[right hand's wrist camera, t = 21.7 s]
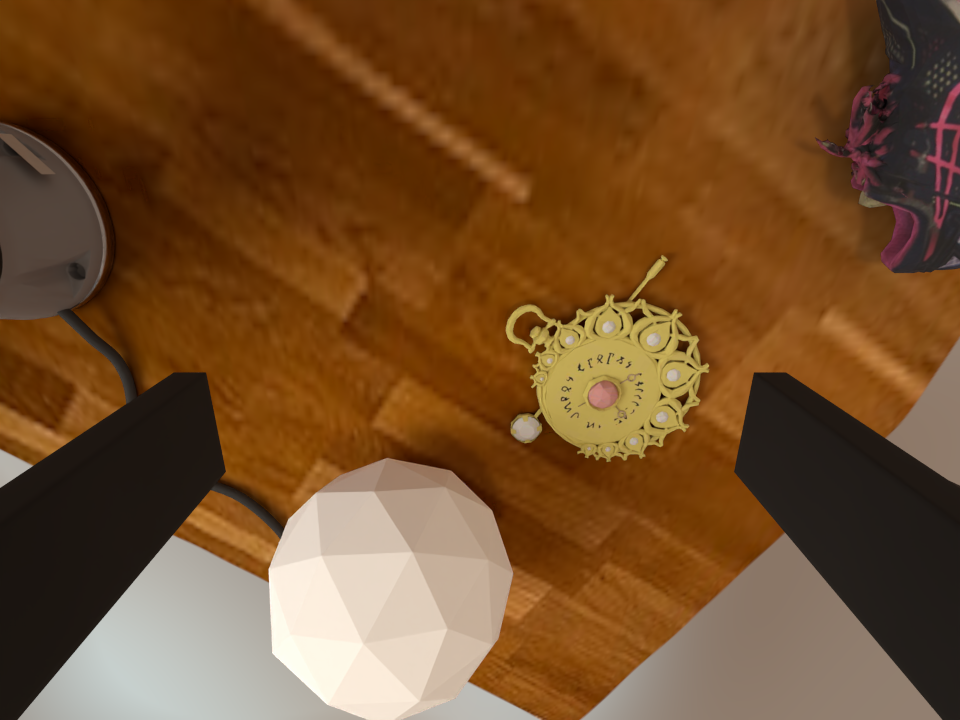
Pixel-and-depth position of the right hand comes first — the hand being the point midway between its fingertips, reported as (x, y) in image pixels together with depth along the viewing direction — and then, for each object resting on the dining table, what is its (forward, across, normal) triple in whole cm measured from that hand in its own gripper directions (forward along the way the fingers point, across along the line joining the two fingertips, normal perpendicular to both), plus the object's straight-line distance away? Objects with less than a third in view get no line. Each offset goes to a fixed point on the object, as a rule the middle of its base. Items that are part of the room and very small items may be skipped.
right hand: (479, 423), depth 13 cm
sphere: (+32, -7, -26) cm, 42 cm away
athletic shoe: (+32, +31, +8) cm, 45 cm away
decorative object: (+32, +11, -11) cm, 36 cm away
